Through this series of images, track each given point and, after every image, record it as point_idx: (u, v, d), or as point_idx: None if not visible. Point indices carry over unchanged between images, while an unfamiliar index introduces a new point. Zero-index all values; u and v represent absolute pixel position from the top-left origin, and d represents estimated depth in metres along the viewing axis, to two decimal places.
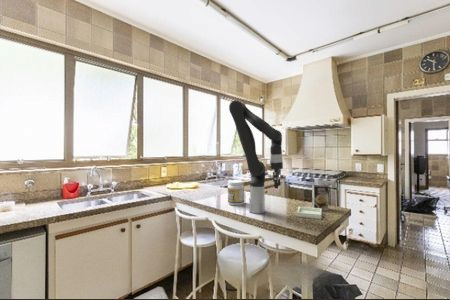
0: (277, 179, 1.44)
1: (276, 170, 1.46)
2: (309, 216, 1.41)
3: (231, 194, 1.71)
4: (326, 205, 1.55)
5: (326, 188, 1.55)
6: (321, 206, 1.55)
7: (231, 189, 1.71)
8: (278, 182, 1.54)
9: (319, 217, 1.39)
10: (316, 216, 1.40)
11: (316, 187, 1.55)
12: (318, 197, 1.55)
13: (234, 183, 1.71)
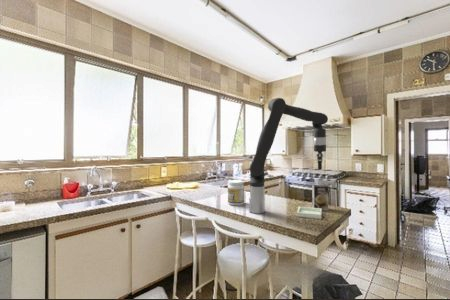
0: (321, 160, 1.51)
1: (320, 152, 1.54)
2: (309, 216, 1.41)
3: (231, 194, 1.71)
4: (326, 205, 1.55)
5: (326, 188, 1.55)
6: (321, 206, 1.55)
7: (231, 189, 1.71)
8: None
9: (319, 217, 1.39)
10: (316, 216, 1.40)
11: (316, 187, 1.55)
12: (318, 197, 1.55)
13: (234, 183, 1.71)
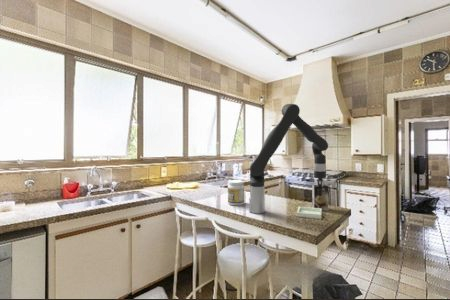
0: None
1: (320, 178, 1.54)
2: (309, 216, 1.41)
3: (231, 194, 1.71)
4: (326, 205, 1.55)
5: (326, 188, 1.55)
6: (321, 206, 1.55)
7: (231, 189, 1.71)
8: None
9: (319, 217, 1.39)
10: (316, 216, 1.40)
11: (316, 187, 1.55)
12: (318, 197, 1.55)
13: (234, 183, 1.71)
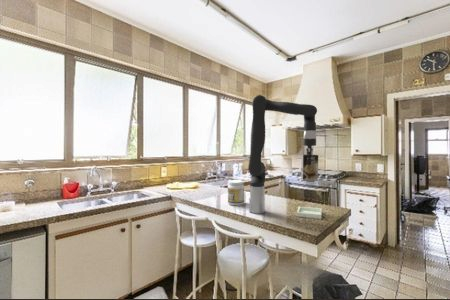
0: (311, 155, 1.42)
1: (310, 146, 1.43)
2: (309, 216, 1.41)
3: (231, 194, 1.71)
4: (316, 175, 1.44)
5: (316, 157, 1.44)
6: (310, 176, 1.45)
7: (231, 189, 1.71)
8: None
9: (319, 217, 1.39)
10: (316, 216, 1.40)
11: (305, 156, 1.45)
12: (308, 166, 1.45)
13: (234, 183, 1.71)
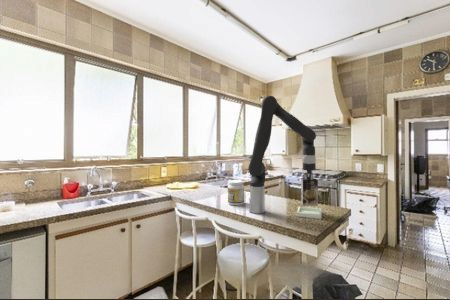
0: (310, 181, 1.42)
1: (309, 171, 1.43)
2: (309, 216, 1.41)
3: (231, 194, 1.71)
4: (316, 200, 1.44)
5: (315, 181, 1.44)
6: (310, 201, 1.45)
7: (231, 189, 1.71)
8: None
9: (319, 217, 1.39)
10: (316, 216, 1.40)
11: (305, 180, 1.45)
12: (307, 191, 1.44)
13: (234, 183, 1.71)
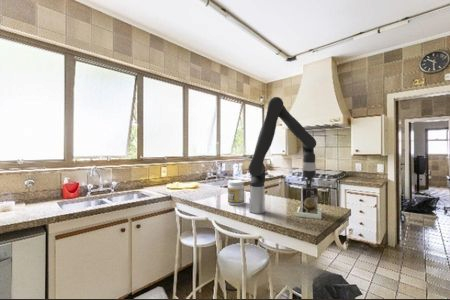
0: (310, 188, 1.41)
1: (309, 178, 1.44)
2: (309, 216, 1.41)
3: (231, 194, 1.71)
4: (315, 209, 1.44)
5: (315, 191, 1.44)
6: (310, 210, 1.45)
7: (231, 189, 1.71)
8: None
9: (319, 217, 1.39)
10: (316, 216, 1.40)
11: (304, 190, 1.45)
12: (307, 200, 1.45)
13: (234, 183, 1.71)
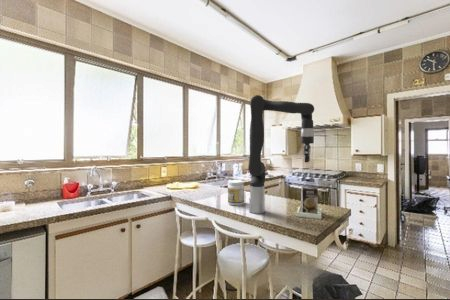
0: (308, 153, 1.43)
1: (307, 144, 1.45)
2: (309, 216, 1.41)
3: (231, 194, 1.71)
4: (315, 209, 1.44)
5: (315, 191, 1.44)
6: (310, 210, 1.45)
7: (231, 189, 1.71)
8: None
9: (319, 217, 1.39)
10: (316, 216, 1.40)
11: (304, 190, 1.45)
12: (307, 200, 1.45)
13: (234, 183, 1.71)
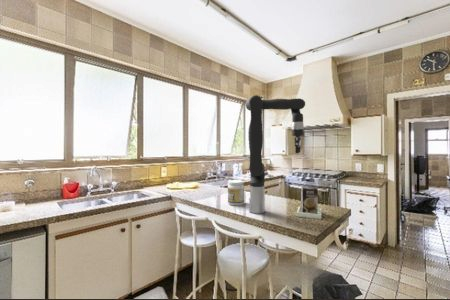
0: (298, 144, 1.55)
1: (297, 136, 1.58)
2: (309, 216, 1.41)
3: (231, 194, 1.71)
4: (315, 209, 1.44)
5: (315, 191, 1.44)
6: (310, 210, 1.45)
7: (231, 189, 1.71)
8: None
9: (319, 217, 1.39)
10: (316, 216, 1.40)
11: (304, 190, 1.45)
12: (307, 200, 1.45)
13: (234, 183, 1.71)
